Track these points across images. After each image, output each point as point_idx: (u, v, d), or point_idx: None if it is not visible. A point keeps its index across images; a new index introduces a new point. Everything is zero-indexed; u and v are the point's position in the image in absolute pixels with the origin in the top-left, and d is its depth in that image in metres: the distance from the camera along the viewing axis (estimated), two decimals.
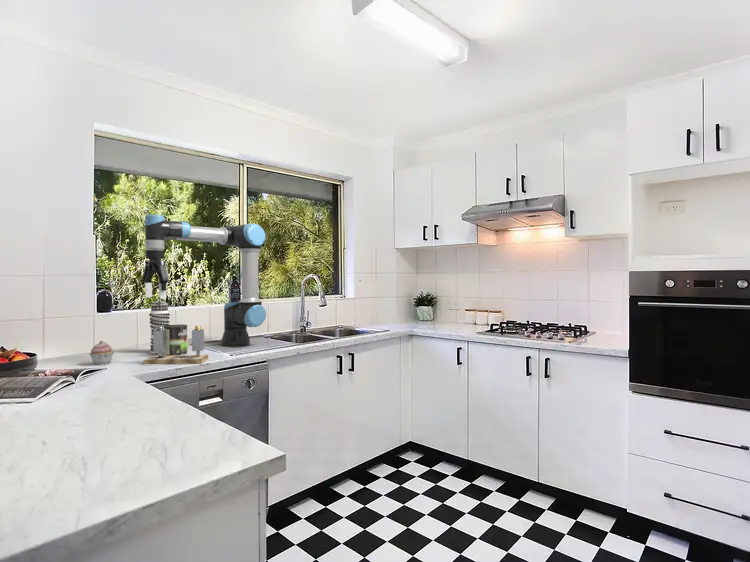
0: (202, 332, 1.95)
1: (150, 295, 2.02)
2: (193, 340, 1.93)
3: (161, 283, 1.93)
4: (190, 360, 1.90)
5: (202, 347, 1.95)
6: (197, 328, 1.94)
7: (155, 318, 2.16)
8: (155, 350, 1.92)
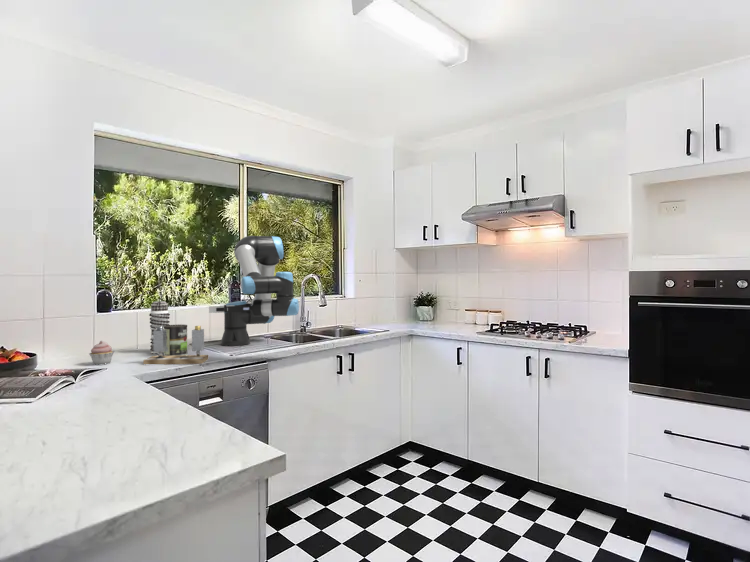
0: (202, 332, 1.95)
1: None
2: (193, 340, 1.93)
3: None
4: (190, 360, 1.90)
5: (202, 347, 1.95)
6: (197, 328, 1.94)
7: (155, 318, 2.16)
8: (155, 350, 1.92)
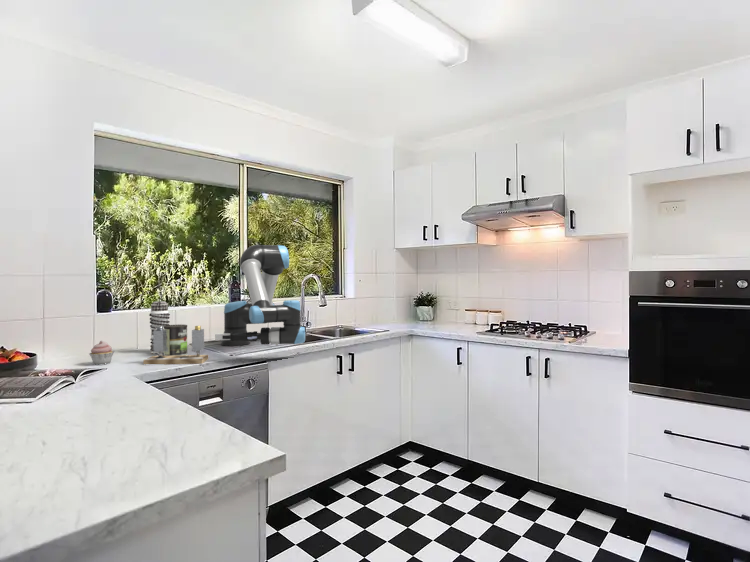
0: (202, 332, 1.95)
1: None
2: (193, 340, 1.93)
3: None
4: (190, 360, 1.90)
5: (202, 347, 1.95)
6: (197, 328, 1.94)
7: (155, 318, 2.16)
8: (155, 350, 1.92)
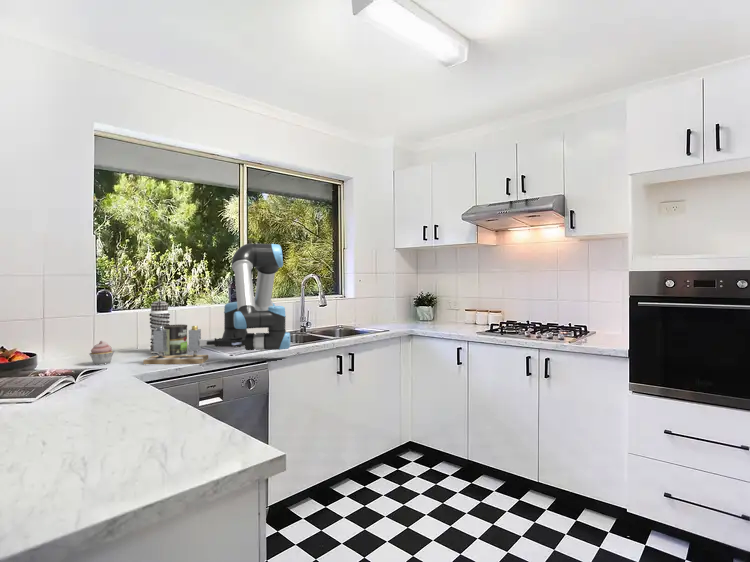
0: (199, 332, 1.95)
1: None
2: (190, 340, 1.93)
3: None
4: (190, 360, 1.90)
5: (199, 347, 1.95)
6: (194, 328, 1.94)
7: (155, 318, 2.16)
8: (155, 350, 1.92)
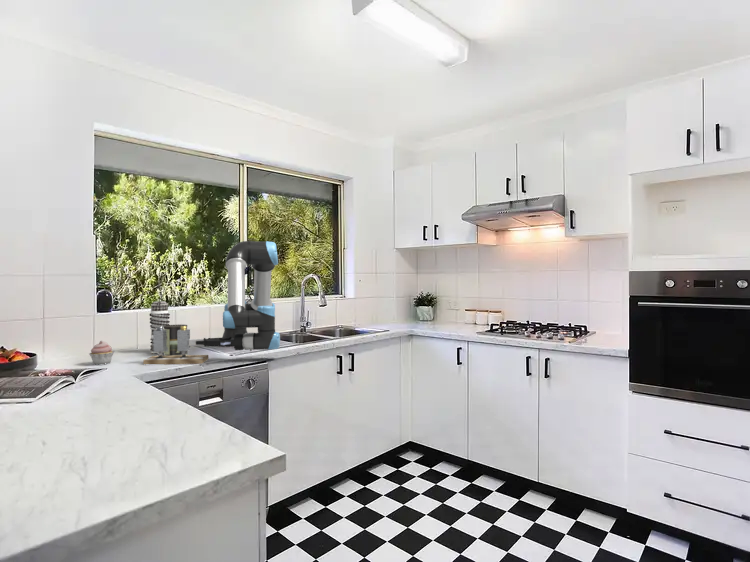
0: (188, 332, 1.95)
1: None
2: (179, 340, 1.93)
3: None
4: (190, 360, 1.90)
5: (188, 347, 1.95)
6: (183, 328, 1.94)
7: (155, 318, 2.16)
8: (155, 350, 1.92)
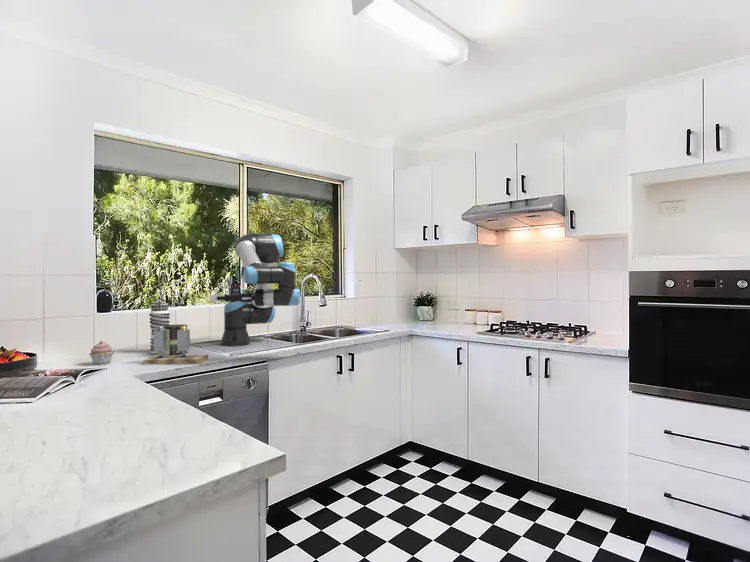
0: (188, 332, 1.95)
1: None
2: (178, 340, 1.93)
3: None
4: (190, 360, 1.90)
5: (188, 347, 1.95)
6: (182, 328, 1.94)
7: (155, 318, 2.16)
8: (155, 350, 1.92)
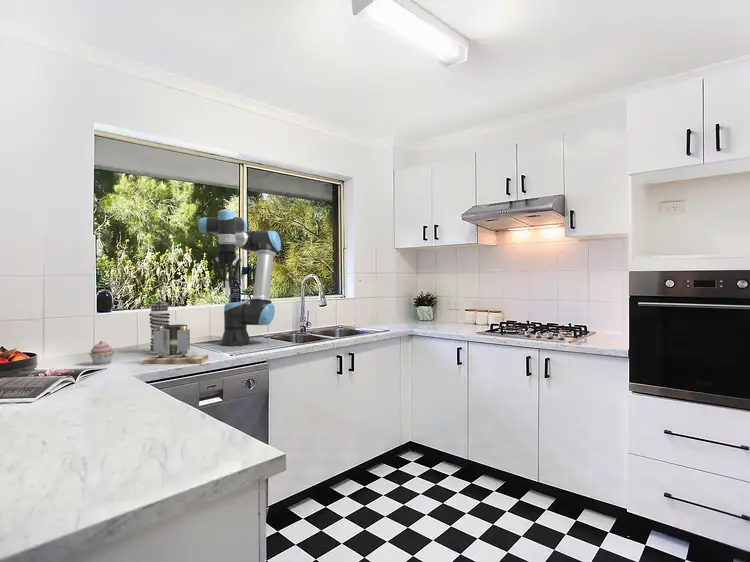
0: (188, 332, 1.95)
1: None
2: (178, 340, 1.93)
3: (228, 281, 2.06)
4: (190, 360, 1.90)
5: (188, 347, 1.95)
6: (182, 328, 1.94)
7: (155, 318, 2.16)
8: (155, 350, 1.92)
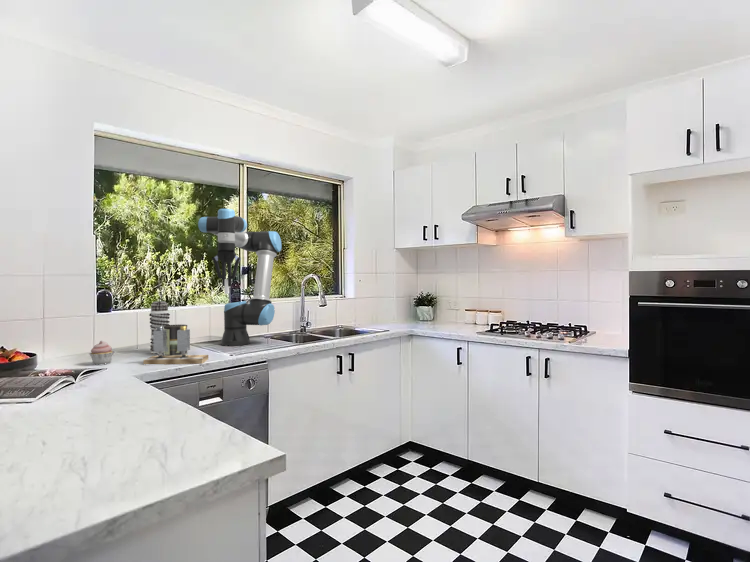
0: (188, 332, 1.95)
1: None
2: (178, 340, 1.93)
3: (228, 279, 2.06)
4: (190, 360, 1.90)
5: (188, 347, 1.95)
6: (182, 328, 1.94)
7: (155, 318, 2.16)
8: (155, 350, 1.92)
